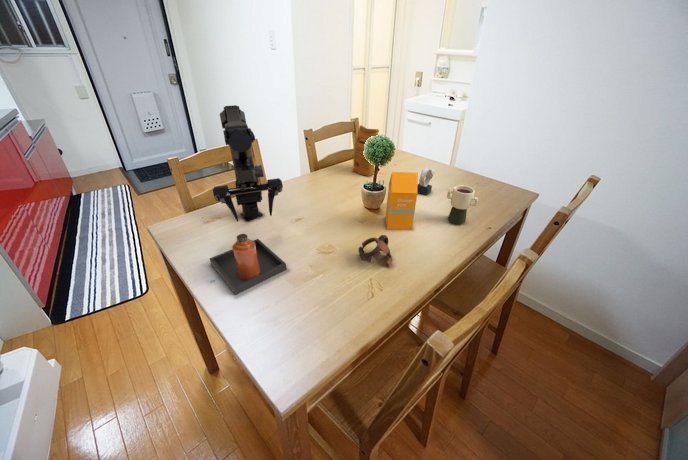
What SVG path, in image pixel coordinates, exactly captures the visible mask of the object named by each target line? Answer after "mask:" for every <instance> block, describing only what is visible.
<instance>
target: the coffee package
mask: <svg viewBox="0 0 688 460" xmlns="http://www.w3.org/2000/svg"><path fill="white" fill-rule="evenodd" d="M379 132H380V130H379V129H378V128H367V127H365V126H363V125H362V124H360V125H359V128H358V131H357V134H356V135H357V136H356V138H355V142H354V149H353V155H352V156H353V157H352V158H353V165H352V166H353V169H352V171H353V172H355V173H358V174H359V175H362V176H367V177H371V176H372V175H374V174H375V173H374V166H373V165H371V164H370V163H369V162H368V161H367V160H366V159H365V157H364V155H363V151H364V144H365V142H366V140H367V139H368V138H369V137H371V136H376V135H378V136H379ZM373 173H374V174H373Z"/></svg>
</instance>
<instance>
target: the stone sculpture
mask: <svg viewBox="0 0 688 460" xmlns="http://www.w3.org/2000/svg"><path fill="white" fill-rule="evenodd" d="M434 175H435V171H434V170H433V169H432V168H431V167H423V169H422V170H421V172H420V176H419V179H418V181H419V183H418V185H417V194H420V195H423V196H428V195H430V194H431V193H432V188H433V185H431V184H430V182H431V180H432V178H433V177H434Z"/></svg>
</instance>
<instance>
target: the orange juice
mask: <svg viewBox="0 0 688 460" xmlns="http://www.w3.org/2000/svg"><path fill="white" fill-rule="evenodd" d="M418 176H419V172H409V171H408V172H407V171H403V172H402V171H391V174H390V178H389V182H388V191H387V197H386V209H385V225H386V229H387V230H413V229H412V228H413V222H414V217H415V211H416V206H417V205H416V204H417V198H418V193H417V185H418V184H419V183H418V181H419V179H418V178H419V177H418Z"/></svg>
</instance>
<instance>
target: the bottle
mask: <svg viewBox="0 0 688 460" xmlns="http://www.w3.org/2000/svg"><path fill="white" fill-rule="evenodd" d="M231 250H233V254H234V258H235V262H236V266H237V271H238V275H239V277H240V278H241V279H244V280H249V279H251V278H254V277H256V276H258V275H259V273H260V267H259V261H258V256H257V250H256V245H255V242H254V240H251V239H250V238H249V236H248V235H247V234H246V233H240V234H238V235H237V236H236V241H235V242H234V244H233V245H232V247H231Z"/></svg>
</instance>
